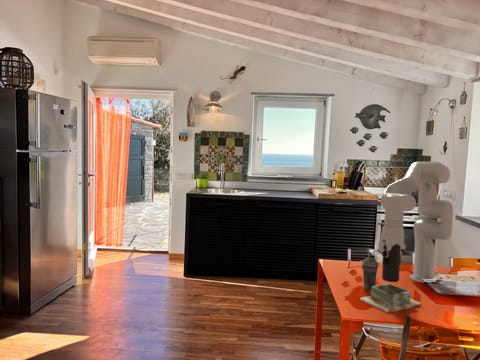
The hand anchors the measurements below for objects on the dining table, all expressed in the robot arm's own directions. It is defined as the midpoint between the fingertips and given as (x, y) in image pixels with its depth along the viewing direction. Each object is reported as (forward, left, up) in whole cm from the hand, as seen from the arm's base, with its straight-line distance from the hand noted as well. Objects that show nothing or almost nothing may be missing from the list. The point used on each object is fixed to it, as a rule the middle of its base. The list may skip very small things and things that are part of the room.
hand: (391, 264), depth 158 cm
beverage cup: (-4, -16, -17) cm, 24 cm away
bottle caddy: (0, 0, -17) cm, 17 cm away
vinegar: (0, 0, -7) cm, 7 cm away
